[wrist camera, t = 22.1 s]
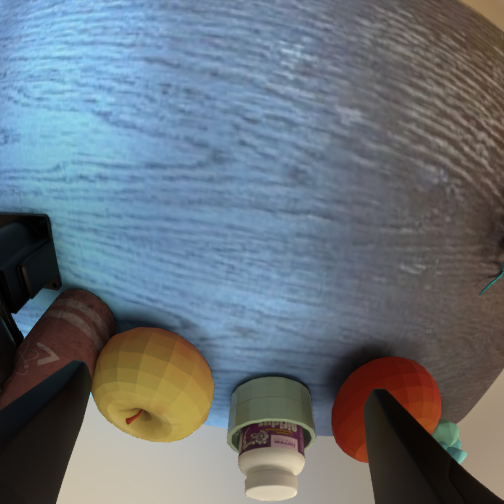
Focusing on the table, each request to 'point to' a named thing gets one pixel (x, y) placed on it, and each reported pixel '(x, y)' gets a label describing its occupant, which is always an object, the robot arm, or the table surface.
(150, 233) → the table surface
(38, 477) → the robot arm
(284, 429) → the pill bottle
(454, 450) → the toy tree
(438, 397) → the fruit
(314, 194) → the table surface
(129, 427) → the apple
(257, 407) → the green faceted cup
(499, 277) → the dragon figurine
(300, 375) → the table surface
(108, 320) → the can
